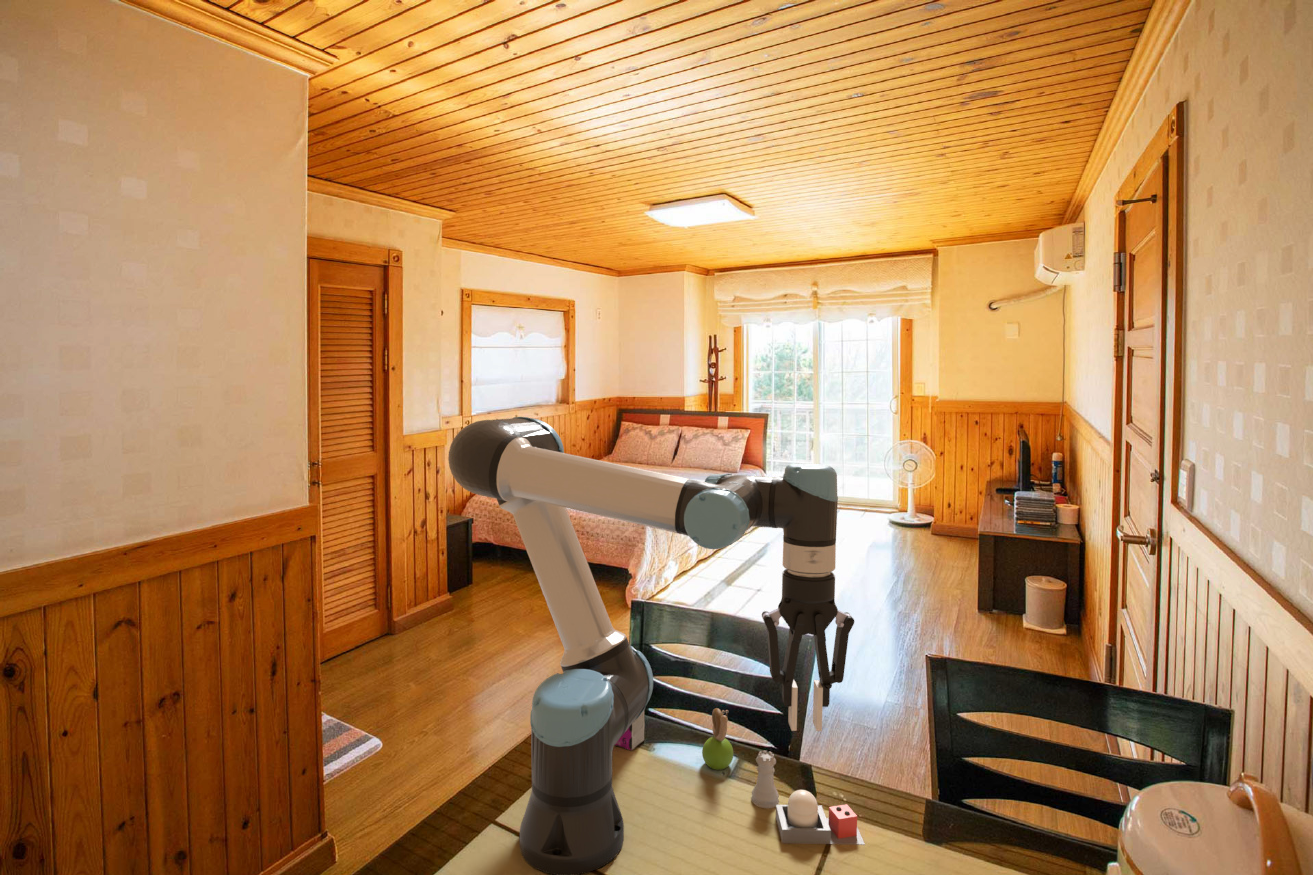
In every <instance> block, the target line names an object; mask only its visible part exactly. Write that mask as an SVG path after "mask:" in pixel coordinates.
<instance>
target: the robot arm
mask: <svg viewBox="0 0 1313 875" xmlns="http://www.w3.org/2000/svg"><path fill="white" fill-rule="evenodd" d="M447 461H448V466H449V467H448V468H449V469H450V472H451V475H452V476H453V478H454V480H455V481H456V483H458V485H460V486H461V487H462V489H464V490H466V491H467V492H470V493H472V494H473V495H474V494H475V495H477V496H481V497H487V498H491V499H496V501H497V503H498V506H499V508H500V509H501V510H504V511H506V512H509V513H510V514H512V516H513V518H514V521H515V525H516V527H517V530H518V532H519V535H520V537H521V540H522V542H523V545H524V549H525V550H526V553H527V555H528V558H529V560H530V564H531V565H532V568H533V571H534V574H535V576H536V579H537V581H538V584H539V587H540V589H541V591H542V595H543V596H544V599H545V602H546V605H547V607H548V610H549V612H550V615H551V618H552V620H553V622H554V625H555V628H556V631H557V634H558V637H559V639H560V642H561V643H562V644H561V645H562V646H563V648H564V652H563V653H562V656H561V660H560V662H559V664H560V667H561V670H562V673H558V672H556V673H554V674H552V675H551V676H549V677H547V678H546V679H544V680H543V681H542V682H541V683H540V684H539V686H538V687H537V688H536V689H535V691H534V693H533V696H532V700H531V701H532V703H531V709H530V716H529V718H530V719H529V720H530V722H529V723H530V727H531V728H530V729H531V731H530V732H531V734H530V735H531V748H530V749H531V792H530V796H529V799H528V802H527V806H526V808H525V811H524V814H523V818H522V821H521V823H520V826H519V827H520V828H519V850H520V854H521V855H522V858H523V859H524V860H525V861H526V863H528V864H529V865H530V866H531V867H533V868H535V869H536V870H539V871H540V872H541V871H542V872H544V873H547V874H551V875H581V874H586V873H590V872H594V871H595V870H598V869H600V868H602V867H604V866H605V865H607V864H609V863H610V862H611V861H613V860H614V858H616V857H617V855H618V854H619V853H620V851H621V850H622V847H623V845H624V840H625V839H624V838H625V837H624V834H625V825H624V824H625V823H624V818H623V815H622V812H621V809H620V807H619V803H618V800H617V797H616V794H615V791H614V788H613V750H614V747H615V744H616V743H617V741H618V740H619V739H620V737H621V736H622V735H623V734H624V733H625V732H626V730H627V729H628V728H629V727H630V725H631V724H632V723H633V722H634V720H636V719H637V718H638V717H639V716H640V715H641V714H642V712H643V711H644V709H646V707H647V705H648V703H649V701H650V699H651V697H652V693H653V689H654V675H653V670H652V668H651V667H652V666H651V665H650V663H649V661H648V660H647V657H646V656H645V655H644V654H643V653H642V652H641V651H640V650H637V649H635V648H634V646H632V645H630V643H629V640H628V637H627V635H626V634H625V633H624V632H621V631H619V630H617V629H615V628H614V626H613V624H612V622H611V619H610V617H609V613H608V612H607V609H606V606H605V604H604V601H603V600H602V597H601V596H602V595H601V594H600V591H599V588H598V586H597V584H596V581H595V579H594V576H593V572H592V570H591V568H590V565H589V562H588V561H587V557H586V555H585V554H584V551H583V548H582V545H581V543H580V539H579V537H578V536H577V535H578V534H577V532H576V531H575V527H574V525H573V522H572V519H571V517H570V514H569V513H568V510H567V509H570V510H573V511H574V510H575V511H578V512H583V513H588V514H592V515H596V516H601V517H605V518H610V519H615V520H619V521H623V522H627V523H630V524H637V525H640V526H644V527H649V528H654V529H658V530H663V531H666V532H671V533H674V534H680V535H684V536H686V537H689V538H690V539H691V540H692V541H693V543H695V544H696V545H698V546H700V547H702V548H705V549H708V550H720V549H723V548H726V547H728V546H731V545H733V544H734V543H736V542H738V541H739V540H740V539H741V538H743V536H744V535H745V534H746V532H747V531H749V529H750V528H751V527H757V528H758V527H760V528H772V529H782V532H783V535H782V538H783V539H782V540H783V542H782V546H783V547H782V567H784V570H783V571H782V573H781V574H782V576H781V577H782V579H781V580H782V584H781V585H782V586H781V600H780V601H779V604H778V606H777V607H778V608H776V609H773V610H771V611H767V610H766V611H765V610H764V611H762V613H761V617H762V620H763V622H764V624H765V627H766V635H767V650H768V662H769V663H768V665H769V673H770V677H771V679H772V681H773V682H774V683H780V684H781V699H782V703H783V705H784V707H788V719H787V720H788V721H787V722H788V725H789V727H790V730H791V732H795V731H796V732H797V728H798V695H799V694H798V693H799V692H798V691H799V690H798V689H799V688H798V685H797V682H796V681H795V679H794V677H795V672H796V667H797V662H798V655H799V651H800V644H801V643H802V637H803V636H805V635H812V636H813V639H814V640H813V641H814V650H815V656H816V657H815V658H816V665H817V666H816V667H817V672H818V679H814V680H813V692H812V693H813V703H812V724H813V726H814V729H815V730H816V732H823V731H822V730H823V708H824V707H825V708H828V707H829V706H830V697H831V696H830V693H831V688H832V686H833V684H836V683H837V684H840V683H843V681H844V676H845V675H844V674H845V669H846V668H845V667H846V660H847V659H846V658H847V652H848V644H849V636H850V632H851V631H852V628H853V627H854V625H855V619H854V617H852V615H851V614H850V613H849V612H844V611H841V610H839V609H838V606H837V604H836V603H835V602H836V600H835V598H836V597H835V593H836V575H835V573H834V572H833V571H835V570H836V550H837V549H836V548H837V545H836V543H837V528H838V527H837V526H838V499H839V496H838V475H837V474H838V473H837V471H836V470H835V469H834V468H833V467H832V466H830V465H827V464H822V463H821V464H820V463H819V464H818V463H791V464H788V465H786V467H785V468H784V473H783V475H782V476H773V477H771V476H759V475H758V476H757V475H743V474H733V473H725V474H710V475H708V476H707V477H706V478H705V479H704V481H701V480H695V479H691V478H685V477H683V476H678V475H673V474H672V475H671V474H667V473H663V472H658V471H653V470H652V471H651V470H649V469H642V468H639V467H634V466H633V467H632V466H628V465H625V464H624V465H623V464H618V463H614V462H613V463H612V462H609V461H606V460H605V461H604V460H598V459H593V458H589V457H584V456H580V455H576V454H575V455H574V454H571V453H565V450H564V444H563V442H562V439H561V437H560V435H559V434H558V433H557V430H556V429H555V428H553V427H552V426H551V425H550V424H548V423H547V422H545V421H543V420H541V419H538V418H533V417H526V416H515V417H513V418H512V417H511V418H500V419H483V420H477V421H474V422H472V423H469V424H467V425H466V426H464V427H463V428H461V430H459V431H458V433H456V435H455V436H454V437H453V439H452V441H451V444H450V447H449V451H448V460H447ZM780 618H782V619H783V620H784V622H785V624H786V625H787V626H788V627H789V628H788V638H787V644H786V651H785V654H784V655H785V657H784V661H783V665H782V670H781V667H780V652H779V650H780V649H779V637H778V635H779V634H778V630H777V627H779V625H780ZM834 619H835V624H836V630H835V638H834V645H833V653H832V663H831V670H830V667H829V666H830V665H829V658H828V651H827V642H826V641H827V639H826V638H827V637H826V629H827V628H828V627H829V626H830V625H831V623H832V622H833V621H834Z"/></svg>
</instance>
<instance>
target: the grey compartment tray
mask: <svg viewBox="0 0 1313 875" xmlns="http://www.w3.org/2000/svg"><path fill="white" fill-rule="evenodd" d="M787 818H788V804H778V805H776V806H775V820H776V825H777V829H778V833H779V837H780V840H781V844H810V845H811V844H814V845H852V846H853V845H854V846H856V845H858V846H859V845H861V846H864V845H866V842H865V841H864V839H863V837H862V835H861V832H860V830H859V827H858V815H857V814H856V813H855V812H854V810H853V809H852V808H851V807H850V806H849V805H848V804H847V803H846V804H840V805H833V806H828V817H826V814H825V811H824V808H823V805H818V823H817V826H816V827H815V828H795V827H793V826H792V825H791V824H790V823H789V822H788V819H787Z"/></svg>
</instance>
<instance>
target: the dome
mask: <svg viewBox="0 0 1313 875" xmlns="http://www.w3.org/2000/svg"><path fill="white" fill-rule="evenodd" d="M787 805H788V818H787V819H788V822H789V823H790V824H791V825H792V826H793V827H795V828H815V827H816V826H817V823H818V801H817V799H816V797H815V796H814V795H813V794H812V792H810V791H808V790H806V789H797V790H795V791H792V793H791V794H790V796H789V797H788V801H787Z"/></svg>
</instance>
